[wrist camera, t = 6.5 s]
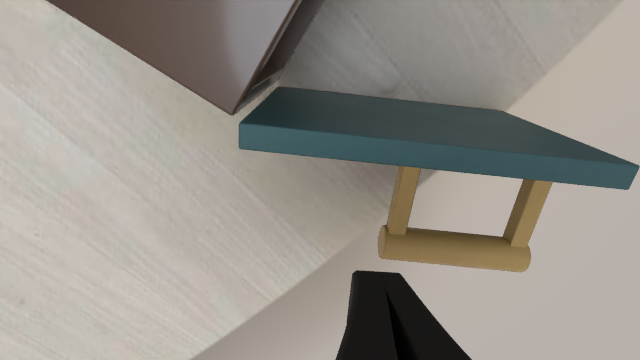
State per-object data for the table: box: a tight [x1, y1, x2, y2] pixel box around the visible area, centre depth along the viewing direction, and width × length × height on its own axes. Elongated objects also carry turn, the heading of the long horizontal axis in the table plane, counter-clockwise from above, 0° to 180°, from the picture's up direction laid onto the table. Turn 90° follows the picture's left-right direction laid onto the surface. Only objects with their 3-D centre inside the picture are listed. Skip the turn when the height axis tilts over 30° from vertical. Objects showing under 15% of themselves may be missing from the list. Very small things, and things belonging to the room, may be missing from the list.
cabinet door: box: [239, 87, 639, 272], centre depth 15 cm, size 6×12×8 cm, turn 84°
